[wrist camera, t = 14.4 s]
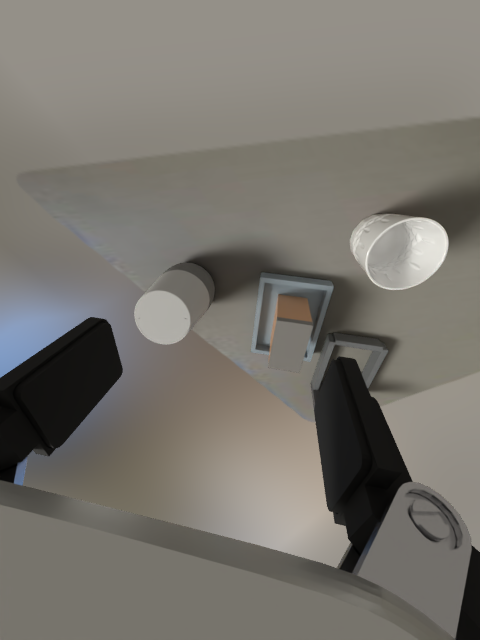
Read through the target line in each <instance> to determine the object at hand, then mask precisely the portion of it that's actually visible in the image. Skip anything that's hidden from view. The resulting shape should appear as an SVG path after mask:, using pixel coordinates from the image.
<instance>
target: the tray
mask: <svg viewBox="0 0 480 640" xmlns="http://www.w3.org/2000/svg"><path fill="white" fill-rule="evenodd" d="M333 288H334V286H333V284H332V282H331V281H328V280H320V279H312V278H304V277H296V276H288V275H280V274H272V273H264V272H261V276H260V283H259V291H258V299H257V307H256V315H255V323H254V331H253V339H252V347H251V352H254V353H260V354H266V355H269V351H270V339H271V332H272V326H273V321H274V315H275V309H276V304H277V298H278V294H281V295H288V296H295V297H303V298H307V299H308V304H309V308H310V313H311V318H312V322H313V328H312V332H311V335H310V339H309V342H308V345H307V349H306V352H305V356H304V359H303V361H309V362H310V361H311V358H312V355H313V352H314V349H315V345H316V342H317V339H318V336H319V333H320V330H321V326H322V323H323V320H324V317H325V314H326V310H327V307H328V304H329V301H330V298H331V294H332V291H333Z"/></svg>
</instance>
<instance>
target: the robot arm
mask: <svg viewBox="0 0 480 640" xmlns="http://www.w3.org/2000/svg"><path fill="white" fill-rule="evenodd" d="M122 370H123V369H122V365H121V361H120V357H119V354H118V350H117V346H116V343H115V339H114V335H113V332H112V328H111V325H110V324H109V323H108V322H107V320H105V319H101V318H94V317H90V318H88V319H86V320H85V321H84V322H82V323H81V324H79V325H78V326H76V327H75V328H73V329H72V330H70V331H69V332H67V333H66V334H64V335H63V336H62V337H60V338H59V339H57V340H56V341H54V342H53V343H51V344H50V345H48V346H47V347H45V348H44V349H43V350H41V351H39V352H38V353H36V354H35V355H33V356H32V357H30V358H29V359H27V360H26V361H25V362H23V363H22V364H20V365H19V366H17V367H16V368H14V369H13V370H11V371H10V372H8V373H7V374H5V375H4V376H2V377H1V378H0V640H480V552H479V551H478V550H476V549H475V548H474V547H473V546H472V545H471V537H470V534H469V532H468V529H467V527H466V525H465V523H464V521H463V520H462V518H461V516H460V515H459V514H458V512H457V511H456V510H455V509H454V507H453V506H452V505H451V504H450V503H449V502H448V501H447V500H446V499H445V498H444V497H442V496H441V495H440V494H439V493H437V492H436V491H434V490H433V489H431V488H430V487H428V486H425V485H423V484H420V483H416V482H412V479H411V477H410V475H409V472H408V470H407V468H406V466H405V463H404V461H403V459H402V456H401V454H400V452H399V449H398V447H397V445H396V443H395V440H394V438H393V436H392V434H391V431H390V429H389V426H388V424H387V422H386V420H385V417H384V415H383V413H382V410H381V408H380V406H379V404H378V402H377V400H376V399H375V398H374V397H371V396H370V393H369V391H368V388H367V386H366V383H365V381H364V379H363V376H362V374H361V371H360V369H359V367H358V364H357V362H356V360H355V359H352V358H346V357H338V358H337V360H334V359H333V360H332V361H331V364H330V366H329V369H328V372H327V374H326V377H325V380H324V382H323V385H322V387H321V390H320V393H319V395H318V398H317V401H316V403H315V409H314V413H315V421H316V428H317V435H318V443H319V449H320V457H321V465H322V472H323V479H324V487H325V494H326V501H327V507H328V509H329V511H331V512H333V514H334V521H335V523H336V524H340V525H344V526H346V529H347V534H348V539H349V540H350V542H351V543H350V545H349V547H348V548H347V550H346V552H345V554H344V556H343V557H342V559H341V561H340V563H339V565H338V567H337V568H334V567H331V566H329V565H326V564H323V563H320V562H316V561H312V560H309V559H305V558H302V557H298V556H294V555H291V554H287V553H284V552H280V551H277V550H273V549H269V548H266V547H262V546H259V545H255V544H251V543H247V542H243V541H240V540H235V539H232V538H228V537H224V536H220V535H216V534H212V533H208V532H205V531H201V530H197V529H193V528H189V527H185V526H181V525H177V524H173V523H169V522H165V521H161V520H157V519H154V518H150V517H146V516H142V515H138V514H134V513H130V512H126V511H122V510H118V509H114V508H110V507H106V506H102V505H98V504H94V503H90V502H86V501H82V500H78V499H74V498H70V497H67V496H62V495H58V494H54V493H50V492H46V491H42V490H38V489H34V488H30V487H26V486H23V481H24V475H25V470H26V464H27V458H28V455H29V453H30V452H31V451H32V450H33V451H34V452H35V453H36V454H41V455H45V456H50V454H52V452H53V451H54V450H55V449H56V448H58V447H60V446H61V445H62V444H63V443H64V442H65V441H66V440H67V439H68V438H69V436H70V435H71V434H72V433H73V432H74V431H75V429H76V428H77V427H78V426H79V425H80V423H81V422H82V421H83V420H84V419H85V418H86V416H87V415H88V414H89V413H90V412H91V410H92V409H93V408H94V407H95V406H96V405H97V404H98V402H99V401H100V400H101V399H102V398H103V397H104V395H105V394H106V393H107V392H108V391H109V389H110V388H111V387H112V386H113V385H114V384H115V382H116V381H117V380H118V379H119V378H120V376H121V375H122Z"/></svg>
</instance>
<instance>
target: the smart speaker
mask: <svg viewBox="0 0 480 640" xmlns="http://www.w3.org/2000/svg"><path fill="white" fill-rule="evenodd" d="M214 293H215V287H214V282H213V280H212V278H211V276H210V275H209V273H208V272H207V271H206V270H205V269H204V268H202V267H201V266H199V265H196V264H193V263H180V264H177V265H174V266H172V267H171V268H169V269H168V270H167V271H165V272H164V273H163V274H162V275H161V276H160V277H159V278H158V279H157V280H156V281H155V283H154V284H153V285H152V286H151V287H150V288H149V289H148V290H147V291H146V293H145V294H144V295H143V296H142V297H141V298H140V300H139V301H138V302H137V305H136V307H135V314H134V315H135V321H136V324H137V327H138V328H139V330H140V331H141V333H142V334H143V335H144V336H145V337H146V338H148V339H149V340H151V341H153V342H155V343H159V344H173V343H176V342H178V341H180V340H181V339H183V338H184V337H185V336H186V335H187V333H188V332H189V331H190V330H191V329H192V328H193V326H194V325H195V324H196V323H197V322H198V321H199V319H200V318H201V317H202V316H203V315H204V313H205V312H206V311H207V310H208V308H209V307H210V305H211V303H212V301H213V298H214Z"/></svg>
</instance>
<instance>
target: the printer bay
mask: <svg viewBox="0 0 480 640" xmlns="http://www.w3.org/2000/svg"><path fill="white" fill-rule="evenodd" d="M334 345H340V346H347V347H353V348H360V349H366V350H373V351H372V353H371V355H370V357H369V360H368V362H367V364H366V366H365V368H364V370H363V372H362V376H363V379H364V381H365V383H366V386H367V388H369V386H370V384H371V382H372V380H373V379H374V377H375V375H376V373H377V371H378V369H379V367H380V365H381V364H382V362H383V360H384V358H385V356H386V354H387V352H388V349H387V347H386V346H385V344H384V343H383V342H380V341H379V339H375V338H368V337H361V336H354V335H348V334H341V333H333V335H332V334H327V337H326V340H325V343H324V346H323V349H322V352H321V355H320V358H319V361H318V363H317V366H316V369H315V372H314V375H313V378H312V381H311V391H312V398H313V405H314V409H315V403H316V401H317V398H318V395H319V393H320V390H321V387H322V385H323V383H322V382H321V381H322V378H323V375H324V372H325V370H326V367H327V364H328V362H329V359H330V356H331V353H332V351H333V348H334Z"/></svg>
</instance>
